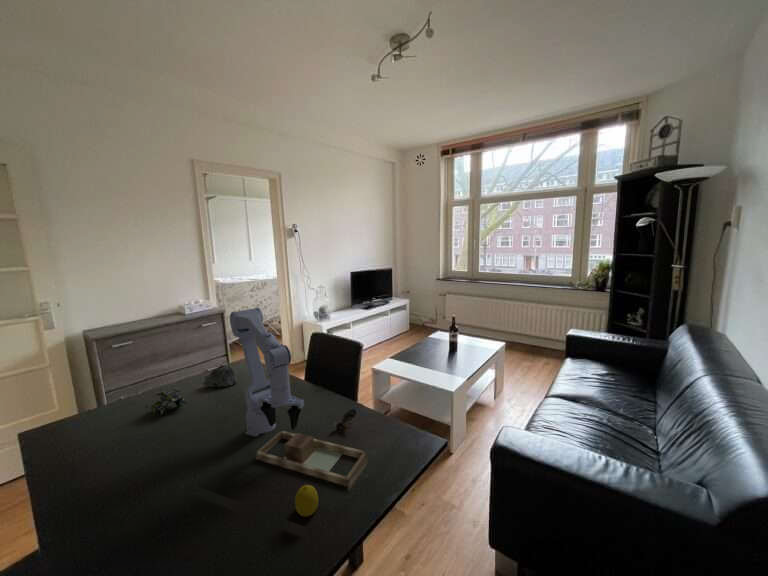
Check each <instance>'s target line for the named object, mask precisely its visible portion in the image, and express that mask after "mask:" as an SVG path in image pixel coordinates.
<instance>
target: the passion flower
mask: <svg viewBox="0 0 768 576" xmlns="http://www.w3.org/2000/svg"><path fill="white" fill-rule="evenodd" d="M171 389H172V390H173V391H174V392H170V391H167V390H161V391H160V393H159V392H155V395H156V396H159V398H160V400H157V401H155V403H154V404H152V405H149V404H145V409H146V410H147V409H148V407H150V410H151V411H153V410H154V411H153V412H152V413H153V415H155V414H156V412H157V411H158V408H160V407H161V408H160V409H159V411H160V415H161V416H162V414H163V413H164V412H165V411H166V408H167V407H168V405H169V404H170V403H175V405H176V407H178V406H180V407H181V408H182V407H183V405H185V404H187V402H188V401H186V400H185V398H184V397H183V396H181V395H180V394H177V392H179V393H181V392H182V390H180V389H179V388H178V387H177V388H176V387H171ZM164 402H166V403H165V405H163V403H164ZM180 407H179V408H180Z"/></svg>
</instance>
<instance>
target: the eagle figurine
mask: <svg viewBox="0 0 768 576" xmlns="http://www.w3.org/2000/svg"><path fill="white" fill-rule="evenodd" d="M356 416H357V411H356V409H355V408H351V409H349V410H348V411H347V412H345V414H344V415H342V419H341V421H337V422H335V423H333V425H332V427H333V428H339V429H340V430H337V432H340V433H343V434H344V433H345V432H346V431H347V430H349V429H351V427H352V425H349V424H352V422H351V421H352V420H353V419H354V418H355V417H356Z"/></svg>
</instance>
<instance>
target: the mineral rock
mask: <svg viewBox="0 0 768 576" xmlns="http://www.w3.org/2000/svg"><path fill="white" fill-rule="evenodd" d="M237 379H238V373H237V370H236V369H235V367H234V366H233V365H230V366H227V365H226V364H220V365H219V366H218V367H216V368H215V369H213V370H212V371H210V374H207V375H206V376H205V377H204V381H203V383H202V384H203V386H205V387H208V388H209V387H210V388H220V387H228V386H227V385H231V384H234V383H235V384H237V383H236V381H237V382H238V380H237Z"/></svg>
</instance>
